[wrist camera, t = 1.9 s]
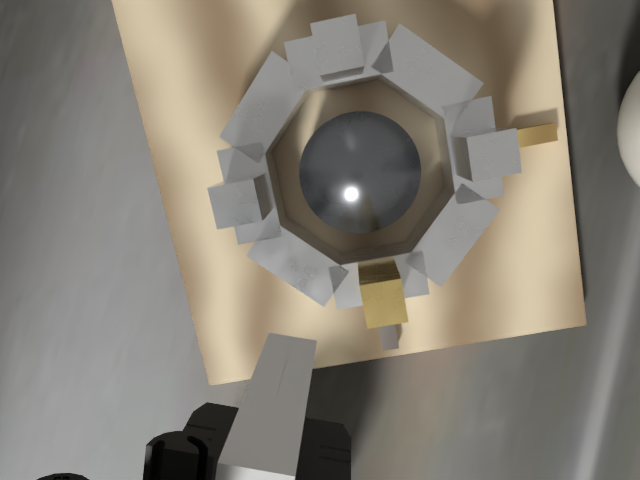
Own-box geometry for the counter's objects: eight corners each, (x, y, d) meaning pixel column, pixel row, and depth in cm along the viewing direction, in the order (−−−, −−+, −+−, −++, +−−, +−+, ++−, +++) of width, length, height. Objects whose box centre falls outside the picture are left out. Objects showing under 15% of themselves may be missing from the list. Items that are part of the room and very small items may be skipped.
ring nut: (264, 306, 33) (243, 352, 27) (210, 67, 31) (171, 50, 24) (499, 265, 32) (541, 303, 25) (465, 12, 29) (502, -23, 23)
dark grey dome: (315, 230, 33) (312, 242, 29) (294, 124, 31) (288, 124, 28) (420, 211, 32) (429, 221, 29) (403, 102, 31) (410, 99, 27)
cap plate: (215, 375, 36) (206, 391, 34) (122, 5, 32) (105, -5, 30) (576, 316, 34) (592, 329, 32) (532, -89, 30) (547, -106, 28)
